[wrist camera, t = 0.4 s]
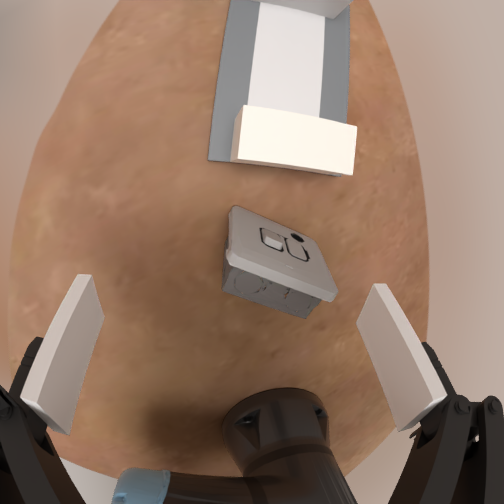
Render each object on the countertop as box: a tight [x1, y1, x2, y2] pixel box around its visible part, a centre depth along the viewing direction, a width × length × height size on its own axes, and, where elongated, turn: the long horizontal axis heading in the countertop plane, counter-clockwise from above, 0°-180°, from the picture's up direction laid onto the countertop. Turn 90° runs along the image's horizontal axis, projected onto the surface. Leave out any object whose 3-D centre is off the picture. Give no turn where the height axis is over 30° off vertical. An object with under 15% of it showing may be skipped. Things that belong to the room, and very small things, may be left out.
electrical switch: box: [222, 206, 338, 319], centre depth 25 cm, size 9×5×9 cm, turn 65°
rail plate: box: [208, 0, 357, 177], centre depth 21 cm, size 22×13×7 cm, turn 174°
